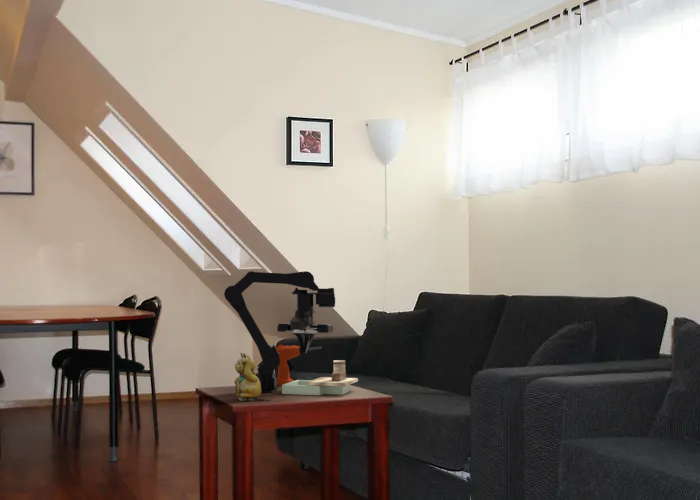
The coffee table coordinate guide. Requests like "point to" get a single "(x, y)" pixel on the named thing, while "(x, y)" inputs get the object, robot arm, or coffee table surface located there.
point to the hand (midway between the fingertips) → (304, 353)
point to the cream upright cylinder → (339, 365)
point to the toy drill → (285, 365)
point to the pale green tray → (311, 388)
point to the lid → (333, 380)
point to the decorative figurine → (246, 379)
